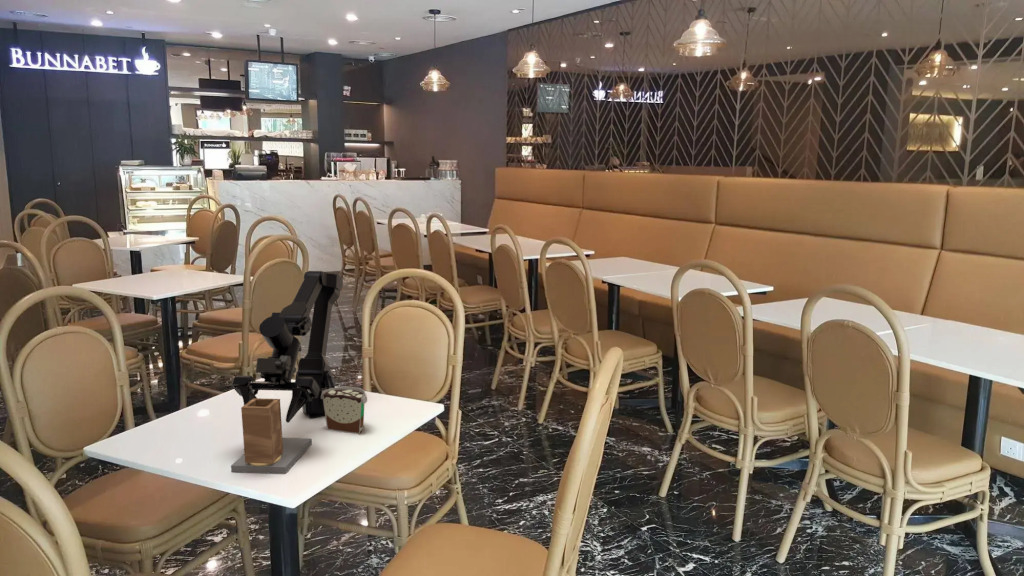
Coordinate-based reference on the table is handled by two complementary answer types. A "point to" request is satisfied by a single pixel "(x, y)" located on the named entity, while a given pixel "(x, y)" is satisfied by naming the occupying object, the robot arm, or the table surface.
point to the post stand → (283, 463)
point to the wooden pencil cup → (262, 430)
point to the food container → (344, 409)
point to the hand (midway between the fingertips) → (266, 421)
